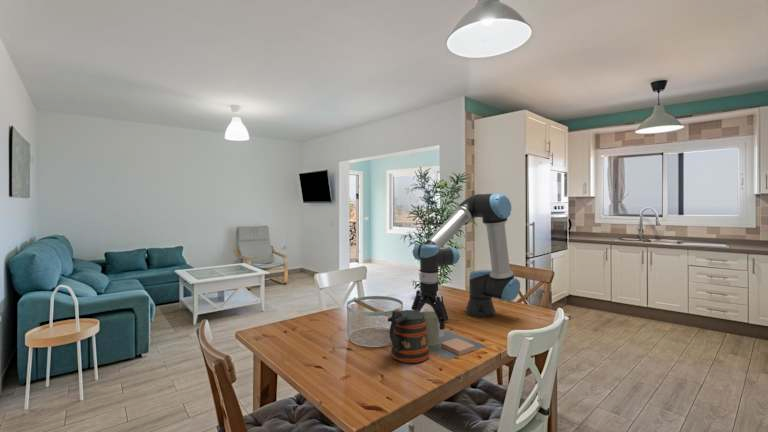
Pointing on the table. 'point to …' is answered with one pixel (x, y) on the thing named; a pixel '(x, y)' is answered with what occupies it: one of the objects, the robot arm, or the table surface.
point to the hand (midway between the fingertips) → (429, 331)
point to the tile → (458, 346)
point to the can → (431, 328)
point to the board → (448, 336)
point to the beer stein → (408, 336)
